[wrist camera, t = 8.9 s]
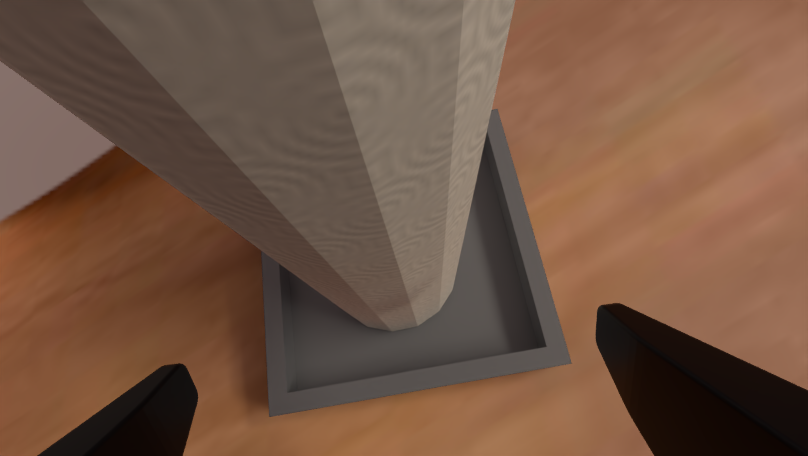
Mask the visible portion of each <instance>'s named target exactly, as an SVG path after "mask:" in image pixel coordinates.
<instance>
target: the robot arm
mask: <svg viewBox="0 0 808 456" xmlns="http://www.w3.org/2000/svg"><path fill="white" fill-rule="evenodd" d="M596 343H597V346H598V349H599V351H600V353H601V355H602V357H603V359H604V361H605V364H606V366H607V368H608V370H609V372H610V374H611V376H612V379H613V381H614V383H615V385H616V387H617V389H618V392H619V394H620V396H621V398H622V400H623V402H624V404H625V406H626V408H627V410H628V412H629V414H630V416H631V418H632V419H633V421H634V423H635V425H636V426H637V428H638V430H639V431H640V433H641V435H642V436H643V438H644V440H645V441H646V443H647V445H648V446H649V448H650V449H651V451H652V453H653V454H654V456H808V390H806V389H804V388H802V387H800V386H797V385H795V384H793V383H791V382H789V381H787V380H784V379H782V378H780V377H778V376H776V375H774V374H771V373H769V372H767V371H765V370H763V369H761V368H759V367H756V366H754V365H752V364H750V363H748V362H746V361H743V360H741V359H739V358H737V357H735V356H733V355H730V354H728V353H726V352H724V351H722V350H720V349H718V348H715V347H713V346H711V345H709V344H707V343H705V342H702V341H700V340H698V339H696V338H694V337H692V336H689V335H687V334H685V333H683V332H681V331H679V330H677V329H674V328H672V327H670V326H668V325H666V324H664V323H661V322H659V321H657V320H655V319H653V318H651V317H648V316H646V315H644V314H642V313H640V312H638V311H635V310H633V309H631V308H629V307H627V306H625V305H623V304H620V303H613V304H606V305H601V306H600V307H599V308H598V310H597V322H596ZM197 402H198V393H197V389H196V387H195V385H194V383H193V381H192V378H191V376H190V374H189V372H188V370H187V368H186V366H185V365H183V364H180V363H178V364H171V365H165V366H162V367H160V368H159V369H157V370H156V371H155V372H153V373H152V374H150V375H149V376H148V377H146V378H145V379H143V380H142V381H141V382H139V383H138V384H136V385H135V386H134V387H132V388H131V389H130V390H128V391H127V392H125V393H124V394H123V395H121V396H120V397H118V398H117V399H116V400H114V401H113V402H111V403H110V404H109V405H107V406H106V407H104V408H103V409H102V410H100V411H99V412H97V413H96V414H95V415H93V416H92V417H90V418H89V419H88V420H86V421H85V422H84V423H82V424H81V425H79V426H78V427H77V428H75V429H74V430H72V431H71V432H70V433H68V434H67V435H65V436H64V437H63V438H61V439H60V440H58V441H57V442H56V443H54V444H53V445H51V446H50V447H49V448H47V449H46V450H45V451H43V452H42V453H40V454H39V455H38V456H183V453H184V449H185V446H186V442H187V439H188V435H189V431H190V428H191V424H192V420H193V417H194V413H195V409H196V406H197Z"/></svg>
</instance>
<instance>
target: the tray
mask: <svg viewBox="0 0 808 456" xmlns="http://www.w3.org/2000/svg"><path fill="white" fill-rule="evenodd" d="M261 256H262V277H263V297H264V318H265V338H266V359H267V380H268V400H269V417H272V416H277V415H283V414H289V413H294V412H300V411H306V410H311V409H317V408H323V407H328V406H334V405H340V404H345V403H351V402H357V401H362V400H368V399H374V398H379V397H385V396H390V395H396V394H402V393H407V392H413V391H419V390H424V389H430V388H436V387H441V386H447V385H453V384H458V383H464V382H470V381H475V380H481V379H487V378H492V377H498V376H503V375H509V374H515V373H520V372H526V371H532V370H537V369H543V368H549V367H554V366H560V365H566V364H571V360H570V356H569V353H568V349H567V346H566V342H565V339H564V336H563V332H562V329H561V325H560V322H559V318H558V315H557V312H556V308H555V305H554V301H553V298H552V294H551V291H550V288H549V284H548V281H547V277H546V274H545V270H544V267H543V264H542V260H541V257H540V253H539V250H538V246H537V243H536V240H535V236H534V233H533V229H532V226H531V222H530V219H529V216H528V212H527V209H526V205H525V202H524V198H523V195H522V192H521V188H520V185H519V181H518V178H517V174H516V171H515V168H514V164H513V161H512V157H511V154H510V151H509V147H508V144H507V140H506V137H505V133H504V130H503V127H502V123H501V120H500V116H499V113H498V109H494V110H491V115H490V119H489V124H488V128H487V133H486V138H485V142H484V147H483V152H482V156H481V161H480V165H479V170H478V175H477V179H476V184H475V189H474V193H473V198H472V202H471V207H470V212H469V216H468V221H467V226H466V230H465V235H464V239H463V244H462V249H461V253H460V258H459V263H458V267H457V272H456V276H455V281H454V286H453V290H452V292H451V293H450V295H449V296H448V298H447V300H446V301H445V303H444V304H443V306H442V307H441V309H440V311H439V312H437V313H436V314H435V315H433V316H432V317H430V318H429V319H427V320H426V321H425V322H423V323H422V324H420V325H419V326H416V327H412V328H407V329H402V330H398V331H393V332H392V331H387V330H382V329H376V328H371V327H367V326H366V325H364V324H363V323H361V322H360V321H358V320H357V319H355V318H354V317H352V316H351V315H350V314H348V313H347V312H345V311H344V310H343V309H341V308H340V307H338V306H337V305H336V304H334V303H333V302H331V301H330V300H329V299H327V298H326V297H325V296H323V295H322V294H320V293H319V292H318V291H316V290H315V289H314V288H312V287H311V286H309V285H308V284H307V283H305V282H304V281H303V280H301V279H300V278H298V277H297V276H296V275H294V274H293V273H292V272H290V271H289V270H287V269H286V268H285V267H283V266H282V265H281V264H279V263H278V262H276V261H275V260H274V259H272V258H271V257H270V256H268V255H267V254H265V253H264V252H263V251H261Z"/></svg>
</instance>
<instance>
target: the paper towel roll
mask: <svg viewBox="0 0 808 456" xmlns="http://www.w3.org/2000/svg"><path fill="white" fill-rule="evenodd" d="M514 4H515V0H0V61H1V62H3V63H4V64H5V65H6V66H8V67H9V68H11V69H12V70H14V71H15V72H16V73H18V74H19V75H20V76H22V77H23V78H24V79H26V80H27V81H29V82H30V83H31V84H33V85H34V86H35V87H37V88H38V89H40V90H41V91H42V92H44V93H45V94H46V95H48V96H49V97H51V98H52V99H53V100H55V101H56V102H57V103H59V104H60V105H62V106H63V107H64V108H66V109H67V110H69V111H70V112H71V113H73V114H74V115H75V116H77V117H78V118H80V119H81V120H82V121H84V122H85V123H87V124H88V125H89V126H90V127H92V128H93V129H95V130H96V131H97V132H99V133H100V134H102V135H103V136H104V137H106V138H107V139H109V140H110V141H111V142H113V143H114V144H115V145H117V146H118V147H119V148H121V149H122V150H124V151H125V152H126V153H128V154H129V155H130V156H132V157H133V158H135V159H136V160H137V161H139V162H140V163H141V164H143V165H144V166H146V167H147V168H148V169H150V170H151V171H152V172H154V173H155V174H157V175H158V176H159V177H161V178H162V179H163V180H165V181H166V182H168V183H169V184H170V185H172V186H173V187H175V188H176V189H177V190H179V191H180V192H181V193H183V194H184V195H186V196H187V197H188V198H190V199H191V200H192V201H194V202H195V203H197V204H198V205H199V206H201V207H202V208H203V209H205V210H206V211H208V212H209V213H210V214H212V215H213V216H214V217H216V218H217V219H219V220H220V221H221V222H223V223H224V224H225V225H227V226H228V227H230V228H231V229H232V230H234V231H235V232H236V233H238V234H239V235H241V236H242V237H243V238H245V239H246V240H247V241H249V242H250V243H252V244H253V245H254V246H256V247H257V248H259V249H260V250H261V251H263V252H264V253H265V254H267V255H268V256H270V257H271V258H272V259H274V260H275V261H276V262H278V263H279V264H281V265H282V266H283V267H285V268H286V269H287V270H289V271H290V272H292V273H293V274H294V275H296V276H297V277H298V278H300V279H301V280H303V281H304V282H305V283H307V284H308V285H309V286H311V287H312V288H314V289H315V290H316V291H318V292H319V293H320V294H322V295H323V296H325V297H326V298H327V299H329V300H330V301H331V302H333V303H334V304H336V305H337V306H338V307H340V308H341V309H343V310H344V311H345V312H347V313H348V314H350V315H351V316H352V317H354V318H355V319H357V320H358V321H360V322H361V323H363V324H364V325H366V326H367V327H371V328H376V329H382V330H387V331H392V332H393V331H398V330H402V329H407V328H412V327H416V326H419V325H420V324H422V323H423V322H425V321H426V320H427V319H429V318H430V317H432V316H433V315H435V314H436V313H437V312H439V311H440V309H441V307H442V306H443V304H444V303H445V301H446V300H447V298H448V296H449V295H450V293H451V292H452V290H453V286H454V281H455V276H456V272H457V267H458V263H459V258H460V253H461V249H462V244H463V239H464V235H465V230H466V226H467V221H468V216H469V212H470V207H471V202H472V198H473V193H474V189H475V184H476V179H477V175H478V170H479V165H480V161H481V156H482V152H483V147H484V142H485V138H486V133H487V128H488V124H489V119H490V115H491V110H492V105H493V101H494V96H495V92H496V87H497V82H498V78H499V73H500V68H501V64H502V59H503V55H504V50H505V45H506V41H507V36H508V31H509V27H510V22H511V18H512V13H513V8H514Z"/></svg>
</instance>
